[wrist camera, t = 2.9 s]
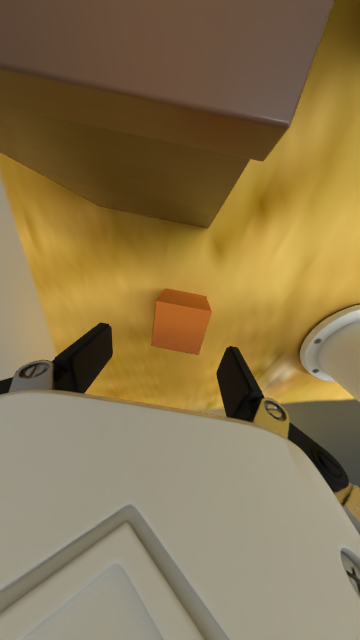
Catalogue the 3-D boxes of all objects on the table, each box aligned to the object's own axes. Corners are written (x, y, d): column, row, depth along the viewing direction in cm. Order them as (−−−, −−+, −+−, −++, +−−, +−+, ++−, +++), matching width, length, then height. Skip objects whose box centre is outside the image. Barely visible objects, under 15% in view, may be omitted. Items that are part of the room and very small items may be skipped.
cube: (206, 296, 18) (211, 311, 13) (196, 331, 20) (198, 355, 15) (165, 288, 18) (156, 300, 13) (161, 324, 20) (151, 346, 15)
